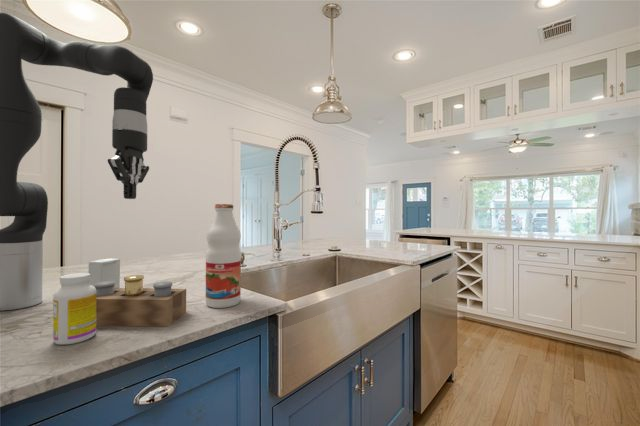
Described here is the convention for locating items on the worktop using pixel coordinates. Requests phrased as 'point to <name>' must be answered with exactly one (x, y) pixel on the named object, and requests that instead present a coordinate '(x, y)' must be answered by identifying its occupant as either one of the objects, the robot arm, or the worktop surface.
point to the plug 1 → (104, 288)
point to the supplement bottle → (74, 309)
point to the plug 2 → (162, 289)
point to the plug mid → (133, 285)
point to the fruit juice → (223, 260)
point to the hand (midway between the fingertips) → (129, 198)
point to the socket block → (140, 308)
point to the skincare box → (105, 271)
